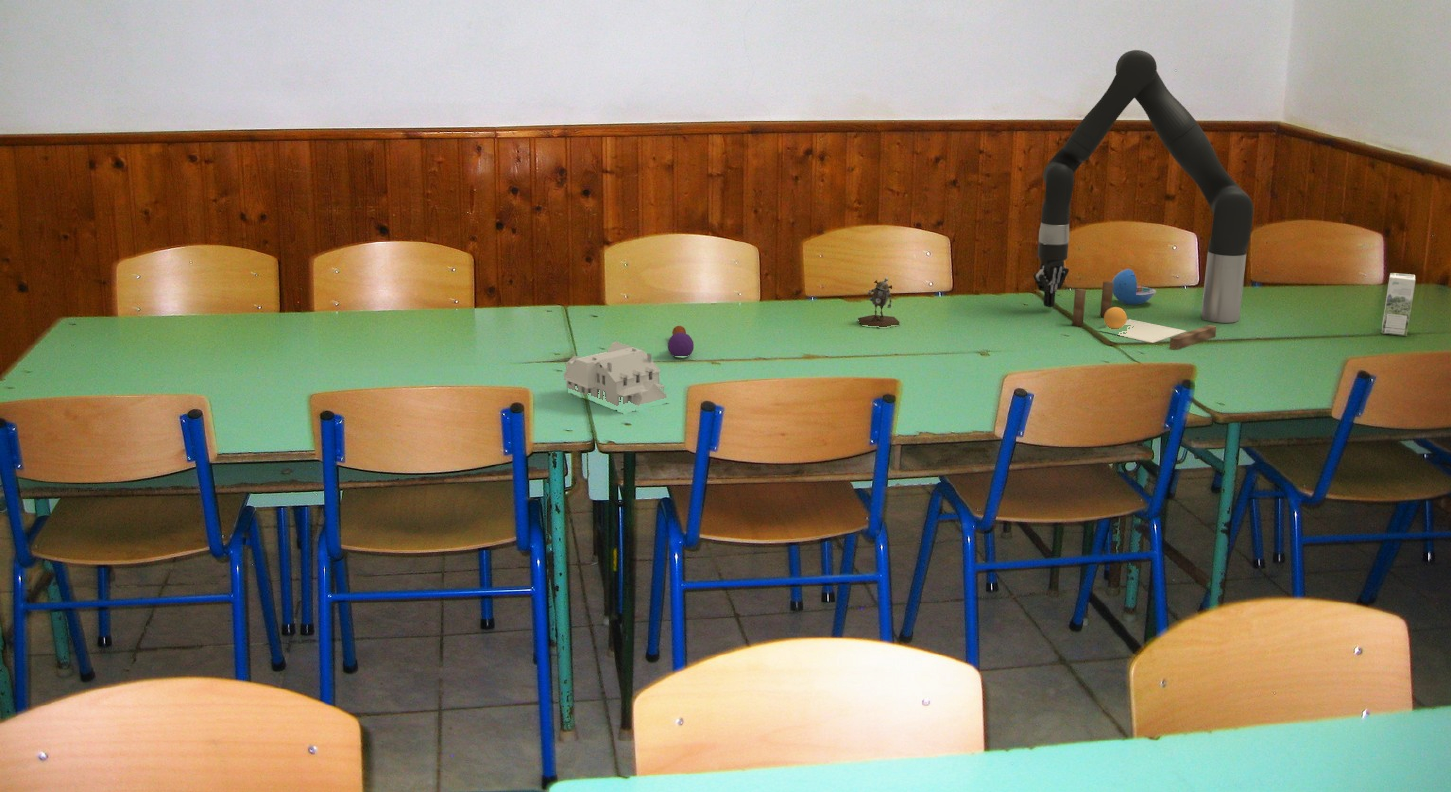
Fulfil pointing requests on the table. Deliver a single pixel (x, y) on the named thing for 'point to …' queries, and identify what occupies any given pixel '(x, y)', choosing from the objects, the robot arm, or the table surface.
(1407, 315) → the syrup box
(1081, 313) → the post near
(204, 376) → the table surface
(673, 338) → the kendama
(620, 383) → the house model
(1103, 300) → the post far
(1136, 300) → the cell model
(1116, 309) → the ball
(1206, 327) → the wall
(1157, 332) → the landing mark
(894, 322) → the robot figurine
